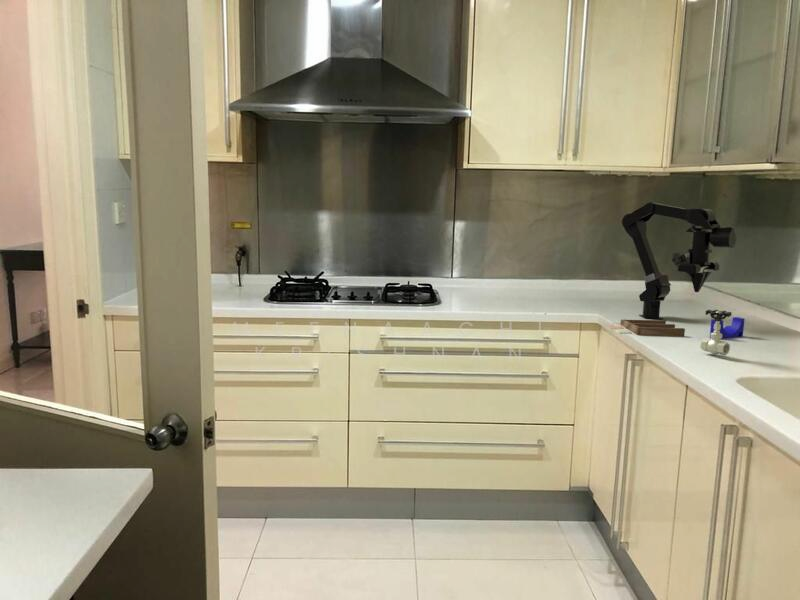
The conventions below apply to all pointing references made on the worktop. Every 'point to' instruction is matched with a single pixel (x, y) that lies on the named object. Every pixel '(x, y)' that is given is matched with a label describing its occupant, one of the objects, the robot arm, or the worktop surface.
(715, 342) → the valve
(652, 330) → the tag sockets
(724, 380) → the worktop surface
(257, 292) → the worktop surface
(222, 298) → the worktop surface
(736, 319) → the cable clip
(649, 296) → the robot arm
